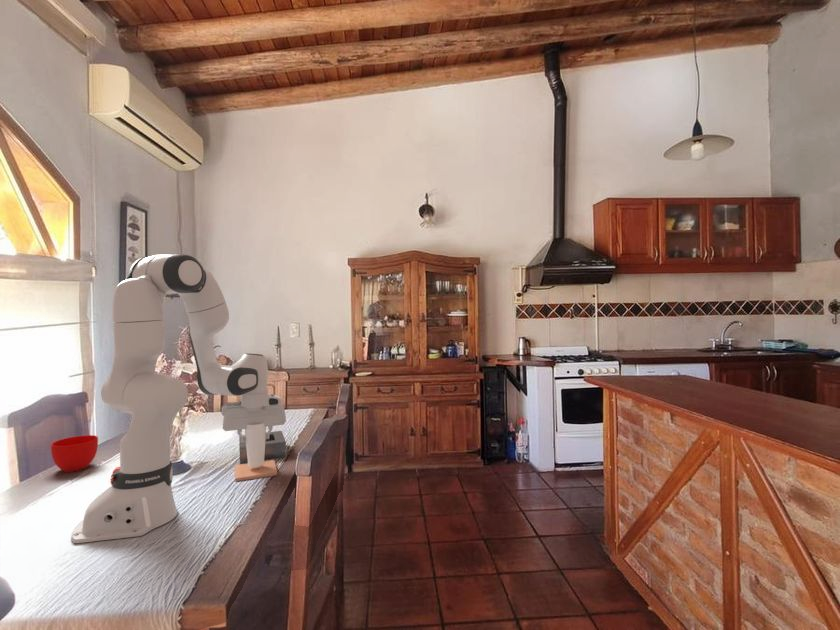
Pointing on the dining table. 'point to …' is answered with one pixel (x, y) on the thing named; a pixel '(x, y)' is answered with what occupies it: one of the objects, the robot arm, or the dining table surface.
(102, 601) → the dining table surface
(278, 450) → the holder block
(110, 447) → the dining table surface
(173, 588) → the dining table surface
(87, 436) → the red bowl
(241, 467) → the terracotta tile
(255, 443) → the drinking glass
